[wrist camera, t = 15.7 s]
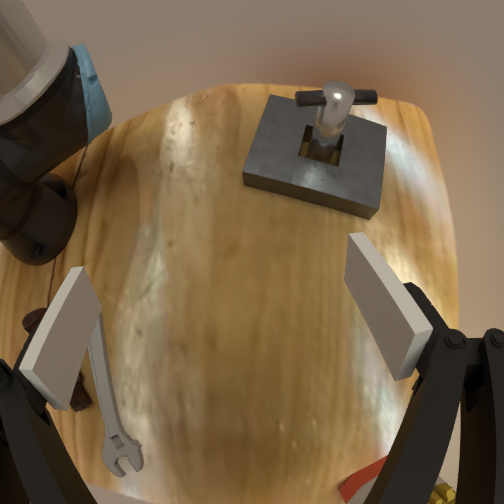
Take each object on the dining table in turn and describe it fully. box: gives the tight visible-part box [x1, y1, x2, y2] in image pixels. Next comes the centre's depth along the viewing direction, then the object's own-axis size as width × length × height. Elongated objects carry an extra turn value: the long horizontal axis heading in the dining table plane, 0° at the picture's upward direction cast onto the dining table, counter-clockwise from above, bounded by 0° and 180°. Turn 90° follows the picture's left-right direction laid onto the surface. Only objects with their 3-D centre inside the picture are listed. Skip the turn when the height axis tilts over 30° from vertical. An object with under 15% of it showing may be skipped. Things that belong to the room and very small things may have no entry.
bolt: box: [22, 308, 91, 412], centre depth 35 cm, size 6×5×15 cm
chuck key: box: [295, 81, 378, 164], centre depth 35 cm, size 9×4×15 cm, turn 99°
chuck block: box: [242, 94, 387, 219], centre depth 41 cm, size 18×14×4 cm
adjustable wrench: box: [88, 312, 143, 477], centre depth 35 cm, size 25×6×2 cm, turn 6°
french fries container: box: [339, 456, 456, 504], centre depth 23 cm, size 5×11×18 cm, turn 113°
